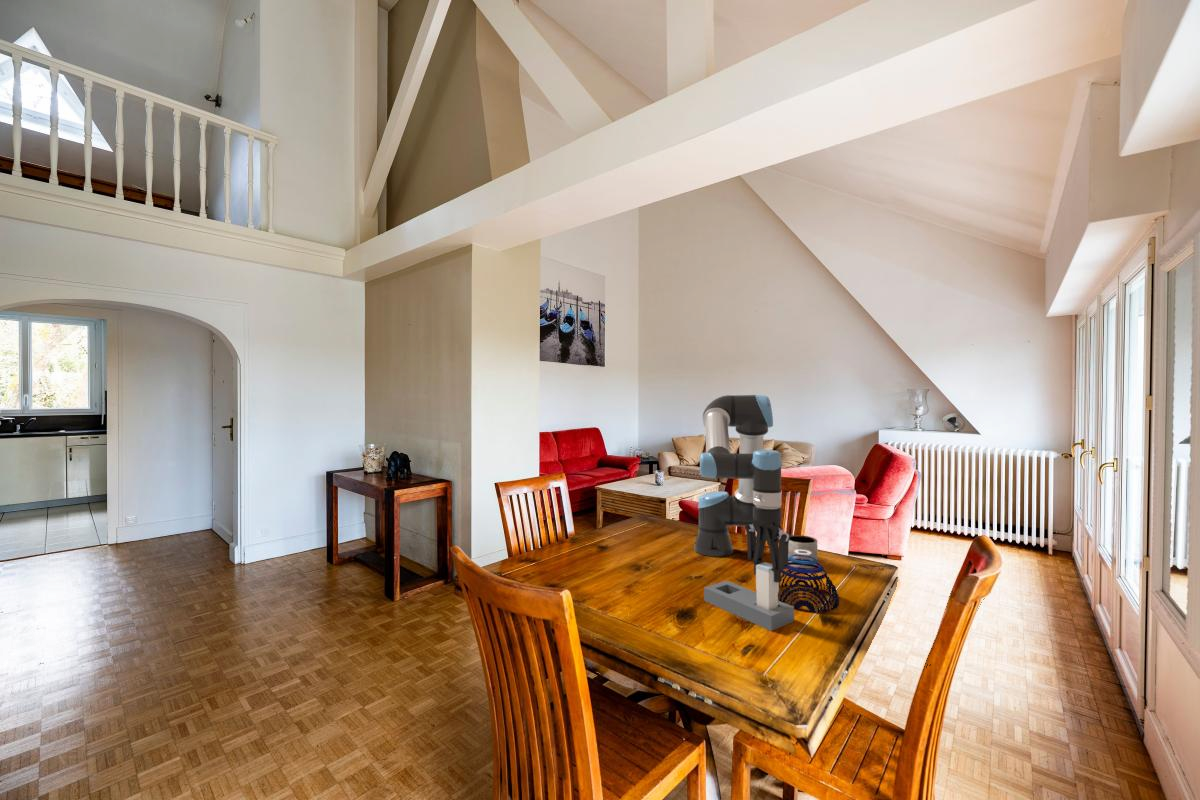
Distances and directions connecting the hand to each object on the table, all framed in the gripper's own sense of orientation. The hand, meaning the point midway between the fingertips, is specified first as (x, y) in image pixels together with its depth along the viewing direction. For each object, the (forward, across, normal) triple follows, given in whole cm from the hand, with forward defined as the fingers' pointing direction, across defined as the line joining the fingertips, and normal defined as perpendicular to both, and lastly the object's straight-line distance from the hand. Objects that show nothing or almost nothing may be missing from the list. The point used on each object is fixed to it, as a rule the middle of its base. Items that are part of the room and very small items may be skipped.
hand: (767, 590), depth 138 cm
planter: (+8, -21, +48) cm, 53 cm away
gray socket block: (+8, -7, 0) cm, 11 cm away
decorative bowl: (+9, -3, +21) cm, 23 cm away
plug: (+5, 0, 0) cm, 5 cm away
